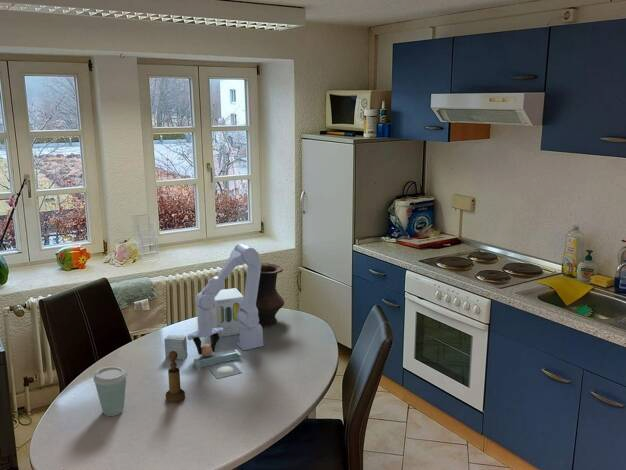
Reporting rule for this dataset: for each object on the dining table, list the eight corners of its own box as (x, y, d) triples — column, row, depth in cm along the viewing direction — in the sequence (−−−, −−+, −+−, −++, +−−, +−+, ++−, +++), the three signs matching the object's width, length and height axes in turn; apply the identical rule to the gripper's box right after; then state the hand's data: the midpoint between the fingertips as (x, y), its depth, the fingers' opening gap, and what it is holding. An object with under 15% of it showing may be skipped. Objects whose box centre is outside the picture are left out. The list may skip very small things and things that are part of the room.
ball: (210, 352, 241) (209, 341, 240) (214, 356, 237) (213, 345, 236) (198, 354, 239) (198, 343, 238) (202, 359, 235) (202, 348, 233)
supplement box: (216, 337, 255) (214, 300, 251) (209, 327, 267) (207, 291, 263) (245, 333, 260) (244, 296, 256) (237, 322, 272) (236, 287, 268)
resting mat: (232, 362, 232) (232, 362, 232) (242, 372, 223) (242, 372, 223) (208, 368, 227) (208, 367, 227) (217, 378, 219) (217, 378, 219)
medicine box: (187, 354, 239) (186, 335, 237) (184, 359, 234) (183, 339, 232) (169, 354, 239) (167, 334, 237) (165, 358, 235) (164, 338, 233)
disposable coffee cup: (129, 401, 202) (125, 361, 199) (130, 417, 193) (127, 375, 189) (96, 406, 199) (92, 366, 195) (96, 423, 189) (92, 381, 186)
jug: (260, 312, 286) (258, 253, 278) (292, 319, 277) (291, 258, 270) (233, 326, 268) (231, 264, 261) (266, 334, 259) (265, 270, 252)
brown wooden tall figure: (168, 405, 200) (165, 357, 196) (163, 397, 205) (160, 350, 201) (187, 401, 203) (184, 353, 199) (182, 392, 208) (179, 346, 204)
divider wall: (236, 355, 238) (236, 349, 238) (241, 360, 234) (241, 354, 234) (194, 364, 230) (193, 359, 229) (198, 369, 226) (197, 364, 225)
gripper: (218, 315, 241) (219, 345, 244) (184, 321, 234) (186, 352, 237) (224, 320, 235) (225, 351, 238) (189, 327, 228) (191, 359, 231)
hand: (206, 352), depth 237 cm, fingers closed on ball, 5 cm apart
